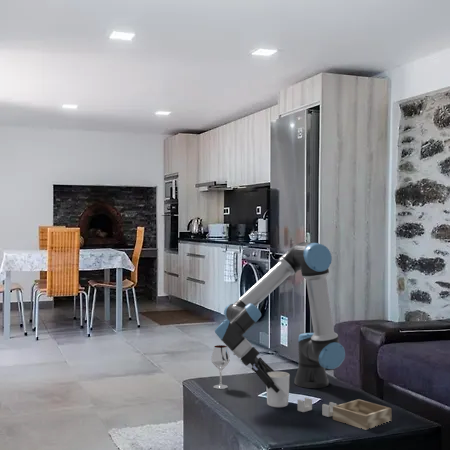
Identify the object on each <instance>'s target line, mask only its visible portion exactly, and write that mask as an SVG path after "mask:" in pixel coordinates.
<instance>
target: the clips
mask: <svg viewBox="0 0 450 450" xmlns="http://www.w3.org/2000/svg"><path fill="white" fill-rule="evenodd" d="M336 405H338V404H337V403H335V402H333V401H329V403H328V404H326V403H323V404H322V406H321V407H322V409H321V410H322V412H321V413H322V416H325V417H328V418H329V417H333V406H336ZM312 410H313V399H312V398H309V397H305V398H304V400H303V399H297V411H298V412H302V413H305V412H308V411H312Z"/></svg>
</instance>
